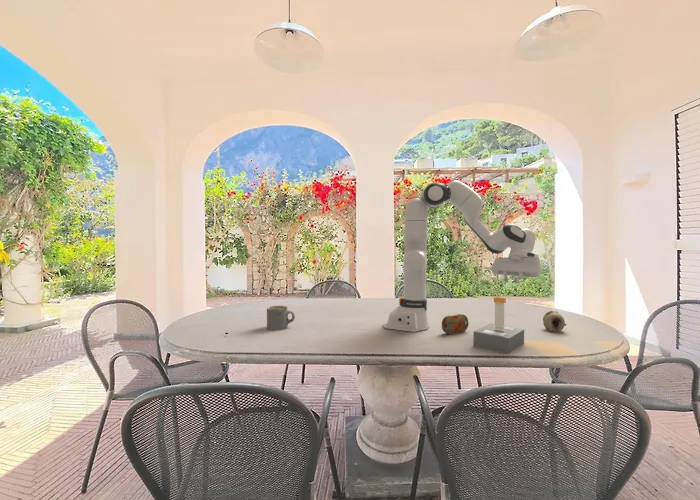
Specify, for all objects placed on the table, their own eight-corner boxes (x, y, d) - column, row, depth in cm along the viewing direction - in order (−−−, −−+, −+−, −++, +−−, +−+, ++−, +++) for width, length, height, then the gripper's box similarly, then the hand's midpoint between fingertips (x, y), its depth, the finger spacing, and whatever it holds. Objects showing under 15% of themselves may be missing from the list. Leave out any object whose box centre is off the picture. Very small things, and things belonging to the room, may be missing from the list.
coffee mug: (264, 330, 163) (264, 309, 163) (270, 324, 173) (269, 305, 172) (292, 330, 162) (292, 309, 162) (296, 325, 172) (296, 305, 172)
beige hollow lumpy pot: (543, 334, 166) (536, 313, 168) (556, 329, 169) (549, 310, 171) (559, 333, 157) (551, 312, 159) (572, 328, 160) (564, 307, 162)
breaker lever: (495, 326, 144) (496, 296, 144) (505, 328, 141) (505, 297, 141) (493, 328, 142) (493, 297, 142) (503, 329, 140) (503, 298, 139)
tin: (445, 335, 155) (445, 317, 155) (440, 333, 158) (440, 315, 157) (468, 331, 162) (469, 313, 162) (463, 329, 165) (464, 312, 164)
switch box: (490, 336, 153) (491, 323, 153) (523, 343, 144) (524, 329, 143) (473, 345, 141) (473, 331, 140) (508, 353, 131) (508, 338, 131)
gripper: (494, 252, 162) (485, 274, 156) (541, 254, 148) (534, 278, 141) (497, 261, 165) (489, 283, 159) (544, 264, 151) (537, 288, 145)
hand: (510, 281), depth 150 cm, fingers open, 3 cm apart
